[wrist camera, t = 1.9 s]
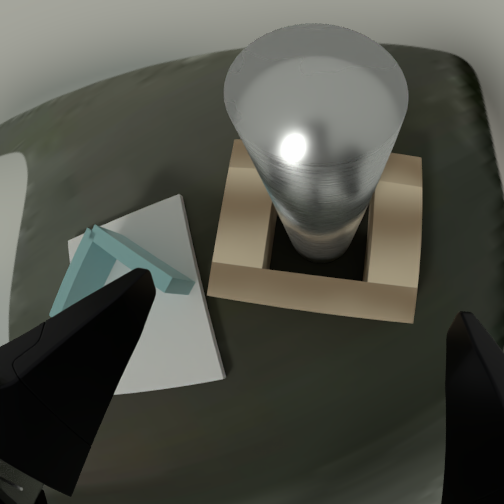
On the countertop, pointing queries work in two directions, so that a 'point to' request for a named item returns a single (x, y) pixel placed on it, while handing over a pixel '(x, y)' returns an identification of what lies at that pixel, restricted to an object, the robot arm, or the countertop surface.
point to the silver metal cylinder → (317, 127)
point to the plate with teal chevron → (166, 300)
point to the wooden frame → (318, 287)
